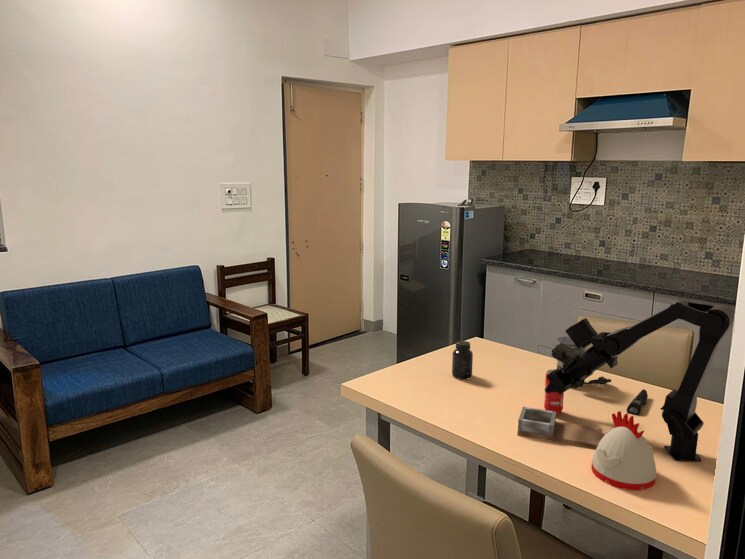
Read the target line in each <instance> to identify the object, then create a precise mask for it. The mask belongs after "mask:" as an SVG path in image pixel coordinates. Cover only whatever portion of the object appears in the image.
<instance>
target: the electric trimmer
mask: <svg viewBox="0 0 745 559" xmlns="http://www.w3.org/2000/svg"><path fill="white" fill-rule="evenodd" d="M648 396H649V395H648V391H647V390H646V389H644V388H643V389H642V390H641V391H640V392H639V393H638V394H637V395H636V396H635V397H634V398H633V399H632V401H630V403H629V404H628V406H627V407H626V414H627V413H628V415H632V416H640V415H641V414H642V407H643V406H645V405H647V400H648Z"/></svg>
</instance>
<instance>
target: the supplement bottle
mask: <svg viewBox="0 0 745 559" xmlns="http://www.w3.org/2000/svg"><path fill="white" fill-rule="evenodd" d="M470 349H471V342H470V341H466V340H458V341H456V342H455V349H454V350H453V352H452V358H451V359H452V362H451V363H452V365H451V376H452V375H453V376H454V377H456V378H460V379H459V380H461V379H465V380H468V379H467V378H469V379H471V378H472V376H473V360H474V357H473V356H474V354H473V351H472V350H470ZM453 376H452V377H453ZM454 377H453V378H454ZM470 377H471V378H470ZM456 378H455V379H456Z"/></svg>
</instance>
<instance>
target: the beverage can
mask: <svg viewBox="0 0 745 559" xmlns="http://www.w3.org/2000/svg"><path fill="white" fill-rule="evenodd" d="M554 370H555V369H548V370H547V371H546V373H545V382H544V383H545V384H544V389H545V388H546V387H547V386H548V384H549V383H550V381H549V380H548V378H547V374H549V373H550V372H552V371H554ZM564 393H565V392H563V393H562V394H559V393H558V392H549V393H546V391H545V390H544V402H543V404H544V405H543V406H544V410H548V411H554V412H556V415H560V414H562V411H563V409H564Z"/></svg>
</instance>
